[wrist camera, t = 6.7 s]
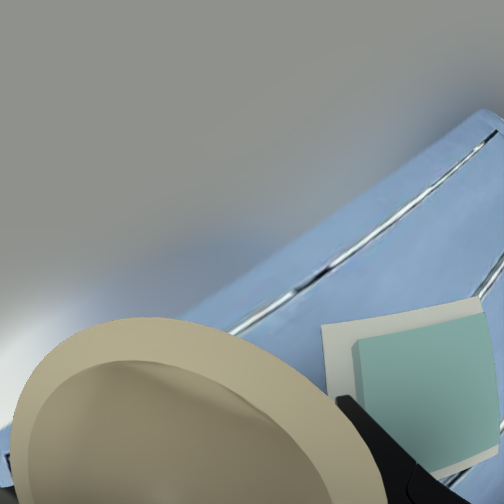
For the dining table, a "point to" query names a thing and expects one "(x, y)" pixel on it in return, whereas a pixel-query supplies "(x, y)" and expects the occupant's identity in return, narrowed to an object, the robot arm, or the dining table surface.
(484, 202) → the dining table surface
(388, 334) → the tower base
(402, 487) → the robot arm
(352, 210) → the dining table surface
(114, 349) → the column brick
